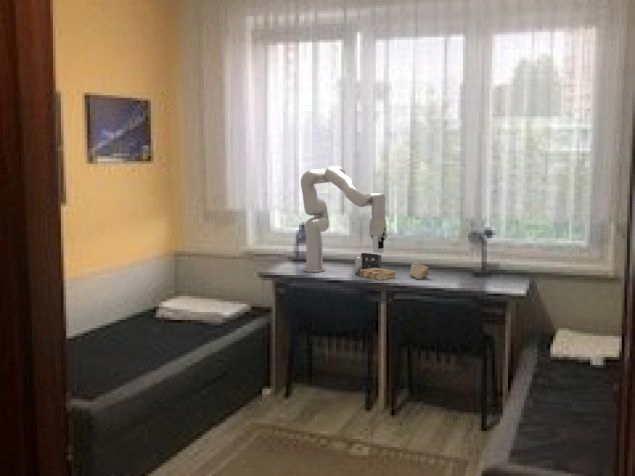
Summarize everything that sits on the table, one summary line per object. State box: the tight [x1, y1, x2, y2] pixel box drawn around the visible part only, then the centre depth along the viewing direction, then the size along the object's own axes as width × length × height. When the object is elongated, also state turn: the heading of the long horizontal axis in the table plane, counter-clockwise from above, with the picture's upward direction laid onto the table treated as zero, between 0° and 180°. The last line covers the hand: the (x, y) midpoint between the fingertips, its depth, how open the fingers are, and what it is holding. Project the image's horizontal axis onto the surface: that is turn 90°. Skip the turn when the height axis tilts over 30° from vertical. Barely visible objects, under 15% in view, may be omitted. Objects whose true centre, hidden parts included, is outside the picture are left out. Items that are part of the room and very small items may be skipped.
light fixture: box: [360, 252, 382, 270], centre depth 408 cm, size 11×13×11 cm
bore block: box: [359, 268, 396, 281], centre depth 388 cm, size 16×12×4 cm
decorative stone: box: [408, 261, 430, 280], centre depth 386 cm, size 8×14×8 cm, turn 30°
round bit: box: [354, 256, 362, 276], centre depth 396 cm, size 4×4×10 cm
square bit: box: [372, 235, 384, 254], centre depth 386 cm, size 4×4×10 cm
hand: (378, 247), depth 386 cm, fingers closed on square bit, 4 cm apart
